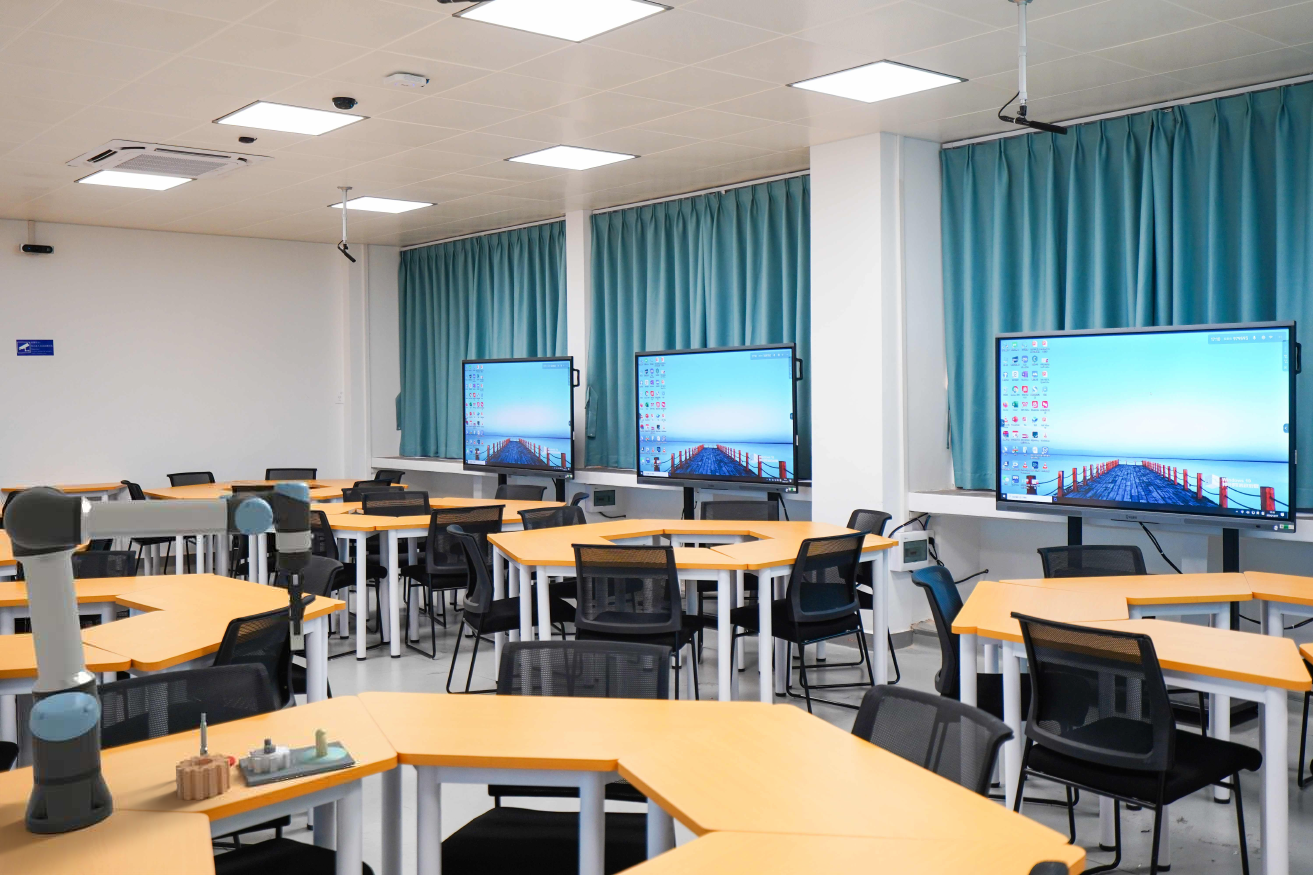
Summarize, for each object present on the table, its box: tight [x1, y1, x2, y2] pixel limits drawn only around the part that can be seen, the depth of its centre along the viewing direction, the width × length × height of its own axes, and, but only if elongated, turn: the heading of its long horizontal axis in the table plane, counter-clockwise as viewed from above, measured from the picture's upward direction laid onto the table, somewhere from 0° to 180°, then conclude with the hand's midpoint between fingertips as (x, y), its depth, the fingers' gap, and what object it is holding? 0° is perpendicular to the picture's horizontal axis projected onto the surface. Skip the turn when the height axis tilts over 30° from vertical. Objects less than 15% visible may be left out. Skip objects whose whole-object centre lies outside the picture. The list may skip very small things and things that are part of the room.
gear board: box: [238, 728, 356, 787], centre depth 232 cm, size 22×16×7 cm
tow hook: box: [199, 712, 236, 767], centre depth 233 cm, size 8×13×9 cm
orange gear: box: [175, 753, 232, 801], centre depth 218 cm, size 10×10×6 cm
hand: (297, 642), depth 237 cm, fingers open, 13 cm apart
